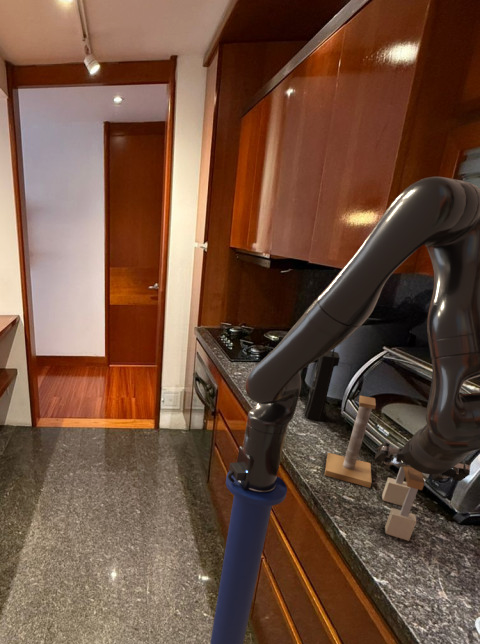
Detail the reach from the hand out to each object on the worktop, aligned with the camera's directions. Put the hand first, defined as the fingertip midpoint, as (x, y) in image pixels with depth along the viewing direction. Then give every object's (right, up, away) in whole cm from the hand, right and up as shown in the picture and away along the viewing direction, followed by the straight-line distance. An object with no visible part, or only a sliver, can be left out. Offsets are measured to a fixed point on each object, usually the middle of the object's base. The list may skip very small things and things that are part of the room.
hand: (409, 470), depth 84 cm
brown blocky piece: (-1, -11, +3) cm, 12 cm away
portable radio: (+7, +8, +50) cm, 51 cm away
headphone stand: (-1, -5, +19) cm, 20 cm away
